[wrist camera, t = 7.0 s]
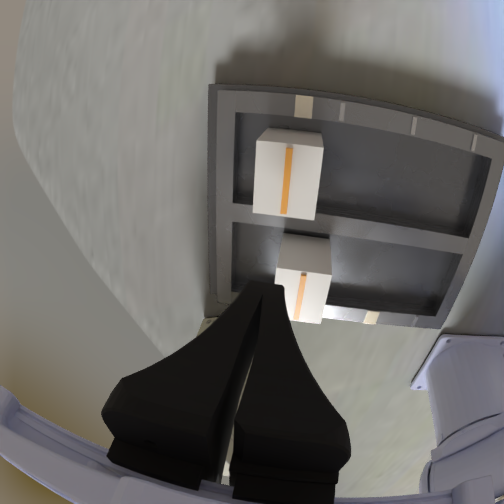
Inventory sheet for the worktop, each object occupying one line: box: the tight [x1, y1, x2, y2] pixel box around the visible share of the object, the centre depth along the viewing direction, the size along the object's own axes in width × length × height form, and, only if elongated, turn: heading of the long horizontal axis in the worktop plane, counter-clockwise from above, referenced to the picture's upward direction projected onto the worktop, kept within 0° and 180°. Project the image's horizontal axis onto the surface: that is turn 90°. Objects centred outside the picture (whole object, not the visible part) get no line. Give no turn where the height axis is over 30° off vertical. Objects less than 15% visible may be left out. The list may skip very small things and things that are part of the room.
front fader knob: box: [253, 127, 324, 220], centre depth 16 cm, size 3×4×4 cm
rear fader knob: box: [275, 233, 332, 324], centre depth 19 cm, size 3×4×4 cm
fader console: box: [208, 84, 504, 329], centre depth 19 cm, size 19×15×2 cm
